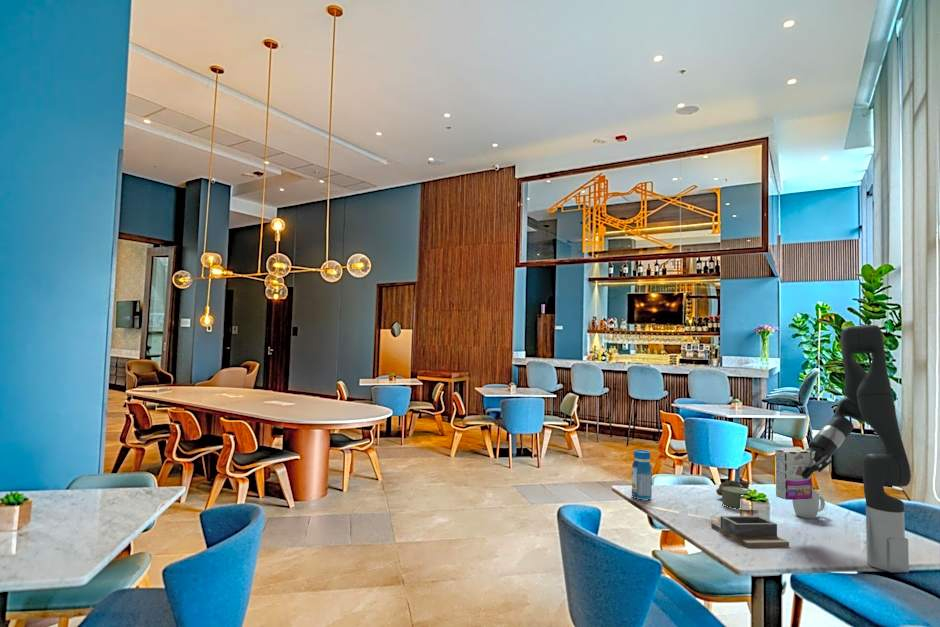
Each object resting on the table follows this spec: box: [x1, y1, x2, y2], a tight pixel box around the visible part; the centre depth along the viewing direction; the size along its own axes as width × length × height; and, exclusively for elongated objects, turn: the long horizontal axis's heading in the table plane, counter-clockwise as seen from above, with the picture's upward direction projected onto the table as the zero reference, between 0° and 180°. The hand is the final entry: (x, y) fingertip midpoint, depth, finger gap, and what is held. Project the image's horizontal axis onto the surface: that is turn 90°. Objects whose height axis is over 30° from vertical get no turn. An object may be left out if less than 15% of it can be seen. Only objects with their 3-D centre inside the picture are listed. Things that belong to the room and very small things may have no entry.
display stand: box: [710, 515, 790, 548], centre depth 184 cm, size 20×15×6 cm
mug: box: [792, 489, 826, 519], centre depth 212 cm, size 13×9×10 cm
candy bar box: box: [774, 448, 813, 501], centre depth 187 cm, size 11×5×16 cm, turn 104°
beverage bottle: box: [631, 449, 653, 501], centre depth 230 cm, size 8×8×20 cm
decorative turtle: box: [715, 480, 750, 497], centre depth 234 cm, size 10×15×8 cm, turn 105°
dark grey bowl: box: [721, 486, 753, 510], centre depth 222 cm, size 12×12×7 cm
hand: (797, 475), depth 188 cm, fingers closed on candy bar box, 5 cm apart
